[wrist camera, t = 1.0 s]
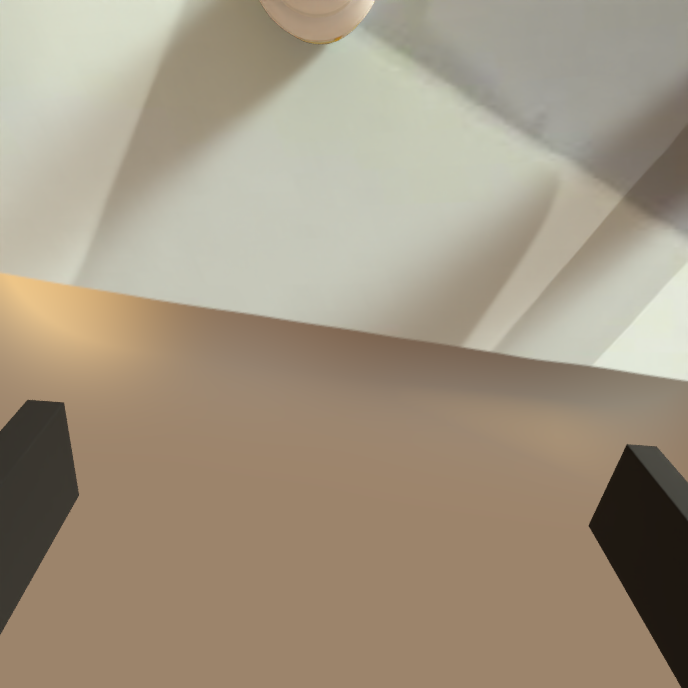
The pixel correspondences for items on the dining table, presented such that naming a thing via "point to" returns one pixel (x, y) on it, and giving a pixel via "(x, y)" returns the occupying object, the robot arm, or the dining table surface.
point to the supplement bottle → (318, 17)
